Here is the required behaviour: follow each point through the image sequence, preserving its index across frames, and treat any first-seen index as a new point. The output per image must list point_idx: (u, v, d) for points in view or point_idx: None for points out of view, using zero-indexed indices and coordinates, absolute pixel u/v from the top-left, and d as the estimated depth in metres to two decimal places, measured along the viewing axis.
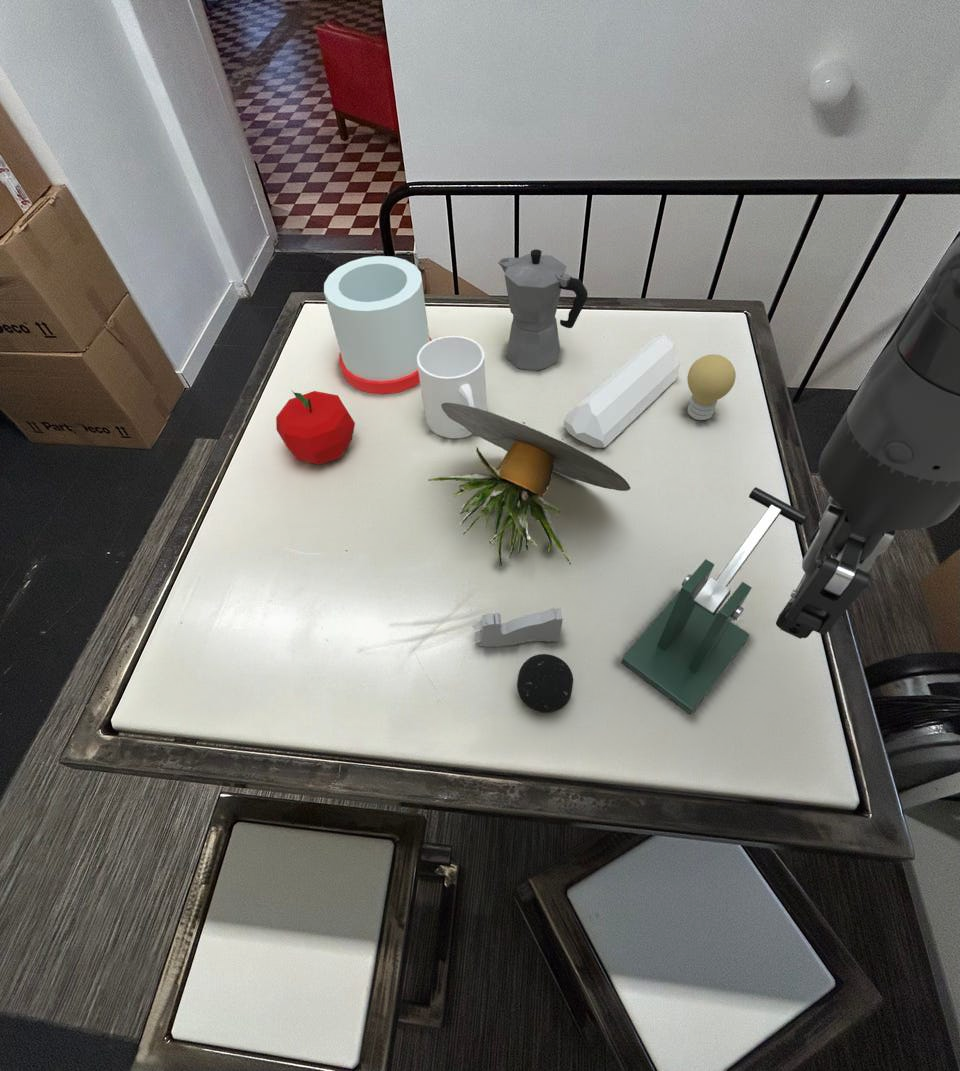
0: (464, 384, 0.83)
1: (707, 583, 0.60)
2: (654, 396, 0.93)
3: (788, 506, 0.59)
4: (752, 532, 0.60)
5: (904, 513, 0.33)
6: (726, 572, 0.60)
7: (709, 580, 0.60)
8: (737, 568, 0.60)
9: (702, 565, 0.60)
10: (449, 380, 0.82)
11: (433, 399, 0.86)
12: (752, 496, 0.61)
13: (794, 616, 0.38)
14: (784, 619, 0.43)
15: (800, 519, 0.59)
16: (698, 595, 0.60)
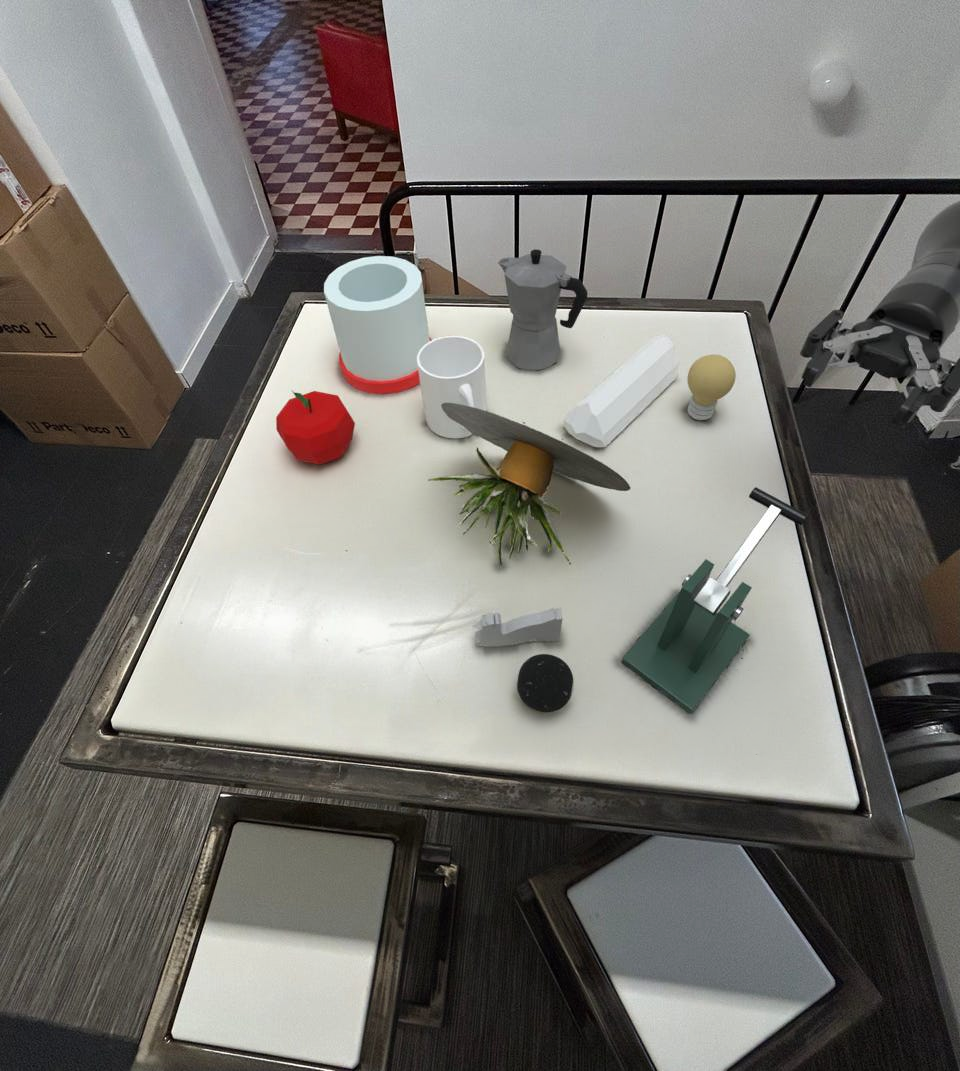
0: (464, 384, 0.83)
1: (707, 583, 0.60)
2: (653, 396, 0.93)
3: (788, 506, 0.59)
4: (752, 532, 0.60)
5: (876, 307, 0.64)
6: (726, 572, 0.60)
7: (709, 580, 0.60)
8: (737, 568, 0.60)
9: (702, 565, 0.60)
10: (449, 380, 0.82)
11: (433, 399, 0.86)
12: (752, 496, 0.61)
13: None
14: None
15: (800, 519, 0.59)
16: (698, 595, 0.60)
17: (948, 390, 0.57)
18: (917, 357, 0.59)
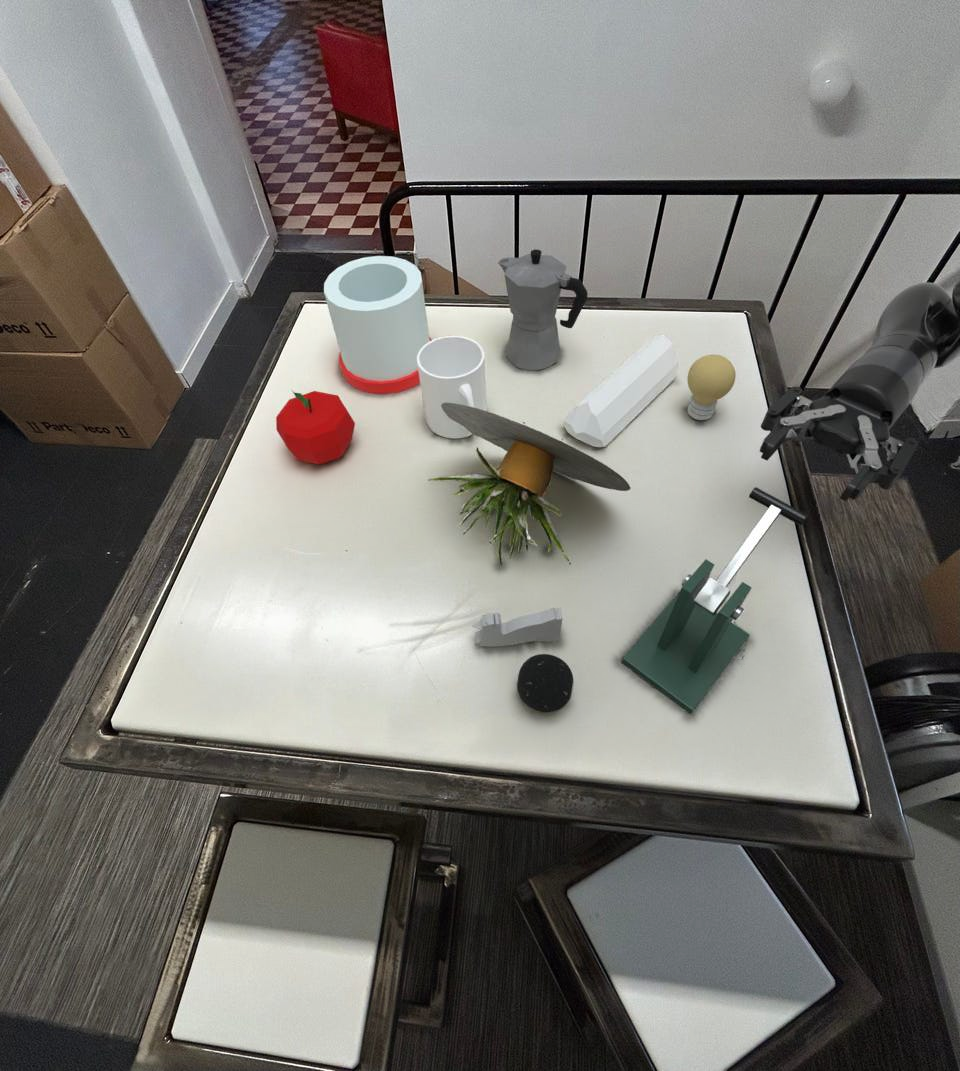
0: (464, 384, 0.83)
1: (707, 583, 0.60)
2: (653, 395, 0.94)
3: (788, 506, 0.59)
4: (752, 532, 0.60)
5: (833, 385, 0.69)
6: (726, 572, 0.60)
7: (709, 580, 0.60)
8: (737, 568, 0.60)
9: (702, 565, 0.60)
10: (449, 380, 0.82)
11: (433, 399, 0.86)
12: (752, 496, 0.61)
13: None
14: None
15: (800, 519, 0.59)
16: (698, 595, 0.60)
17: (893, 470, 0.61)
18: (866, 437, 0.63)
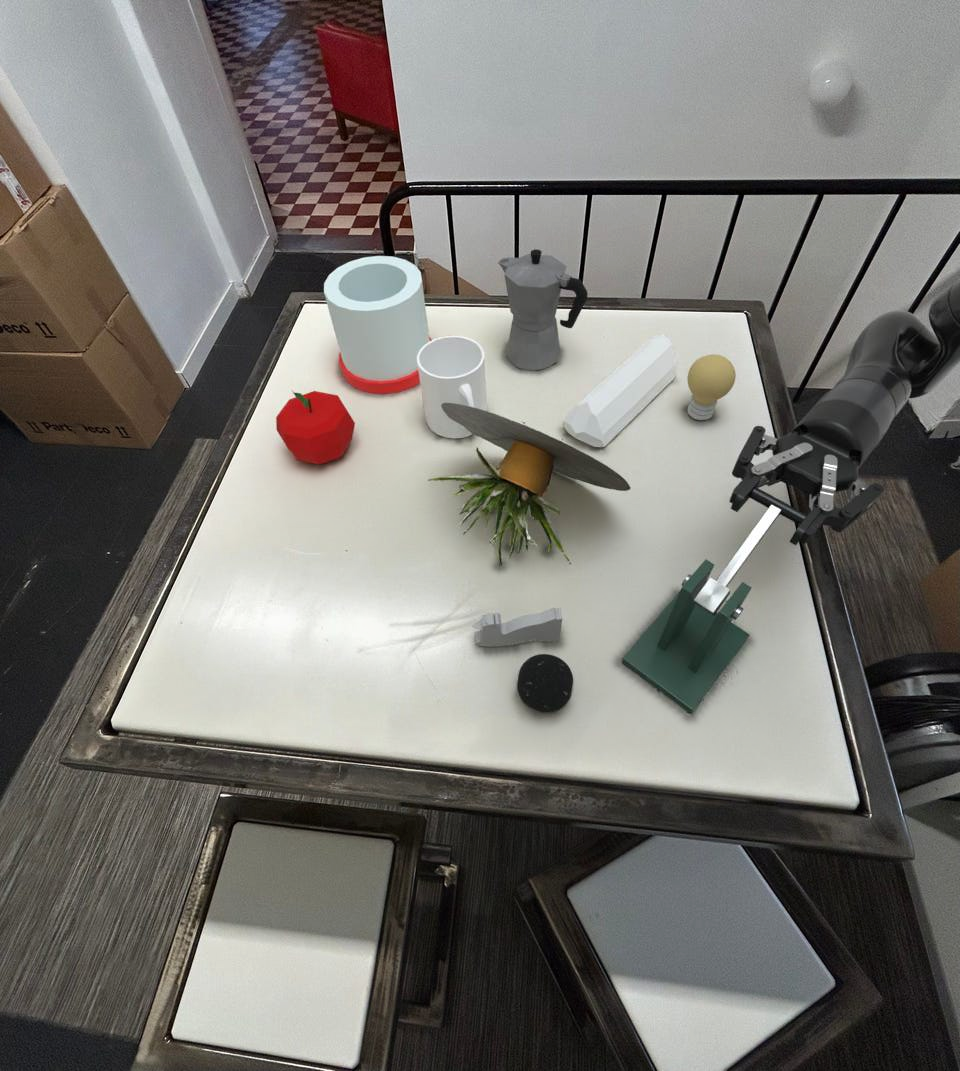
0: (464, 384, 0.83)
1: (707, 583, 0.60)
2: (652, 395, 0.94)
3: (788, 506, 0.59)
4: (752, 532, 0.60)
5: (801, 420, 0.65)
6: (726, 572, 0.60)
7: (709, 580, 0.60)
8: (737, 568, 0.60)
9: (702, 565, 0.60)
10: (449, 380, 0.82)
11: (433, 399, 0.86)
12: (752, 496, 0.61)
13: None
14: None
15: (800, 519, 0.59)
16: (698, 595, 0.60)
17: (844, 512, 0.58)
18: (827, 477, 0.60)
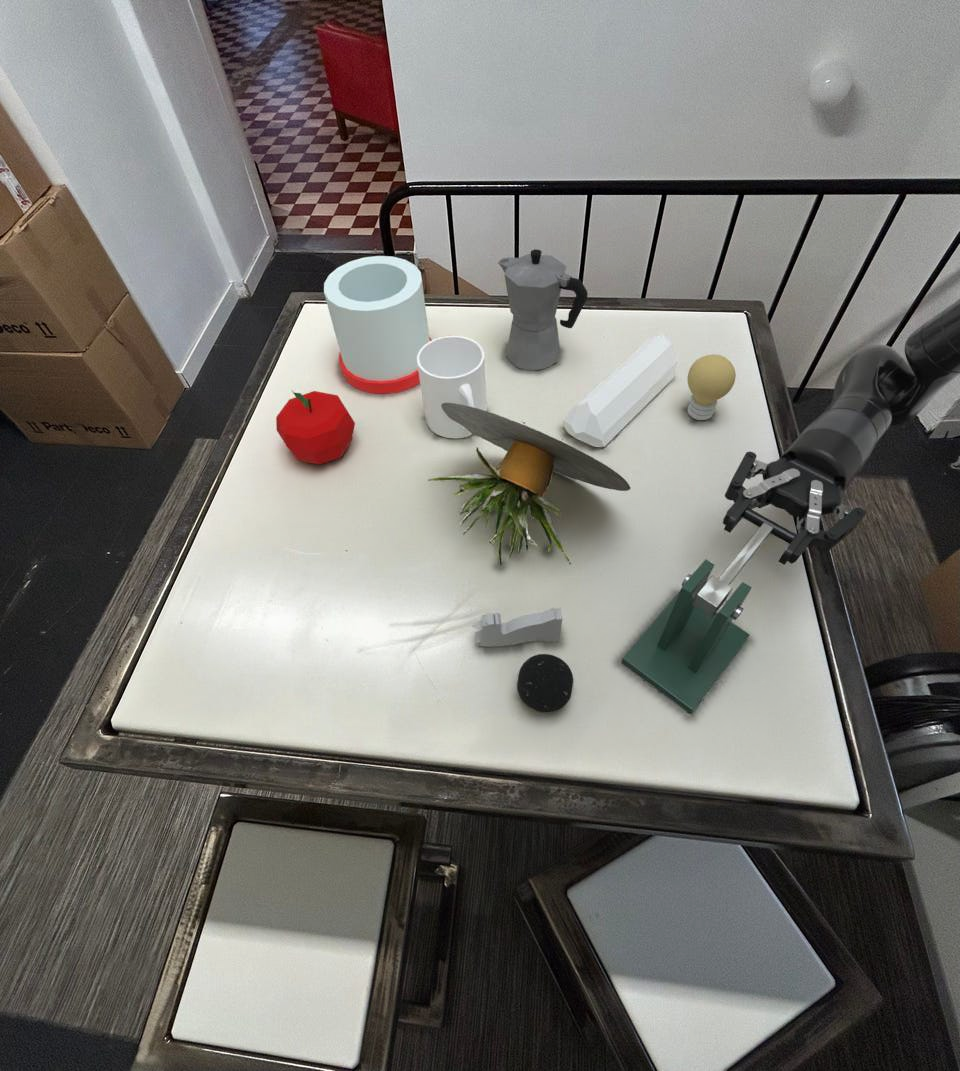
0: (464, 384, 0.83)
1: (710, 580, 0.60)
2: (652, 395, 0.94)
3: None
4: (748, 543, 0.63)
5: (789, 447, 0.70)
6: (726, 574, 0.61)
7: (711, 578, 0.60)
8: (736, 572, 0.61)
9: (702, 565, 0.60)
10: (449, 380, 0.82)
11: (433, 399, 0.86)
12: (745, 515, 0.65)
13: None
14: None
15: (791, 536, 0.63)
16: (701, 590, 0.59)
17: (828, 535, 0.62)
18: (813, 502, 0.64)
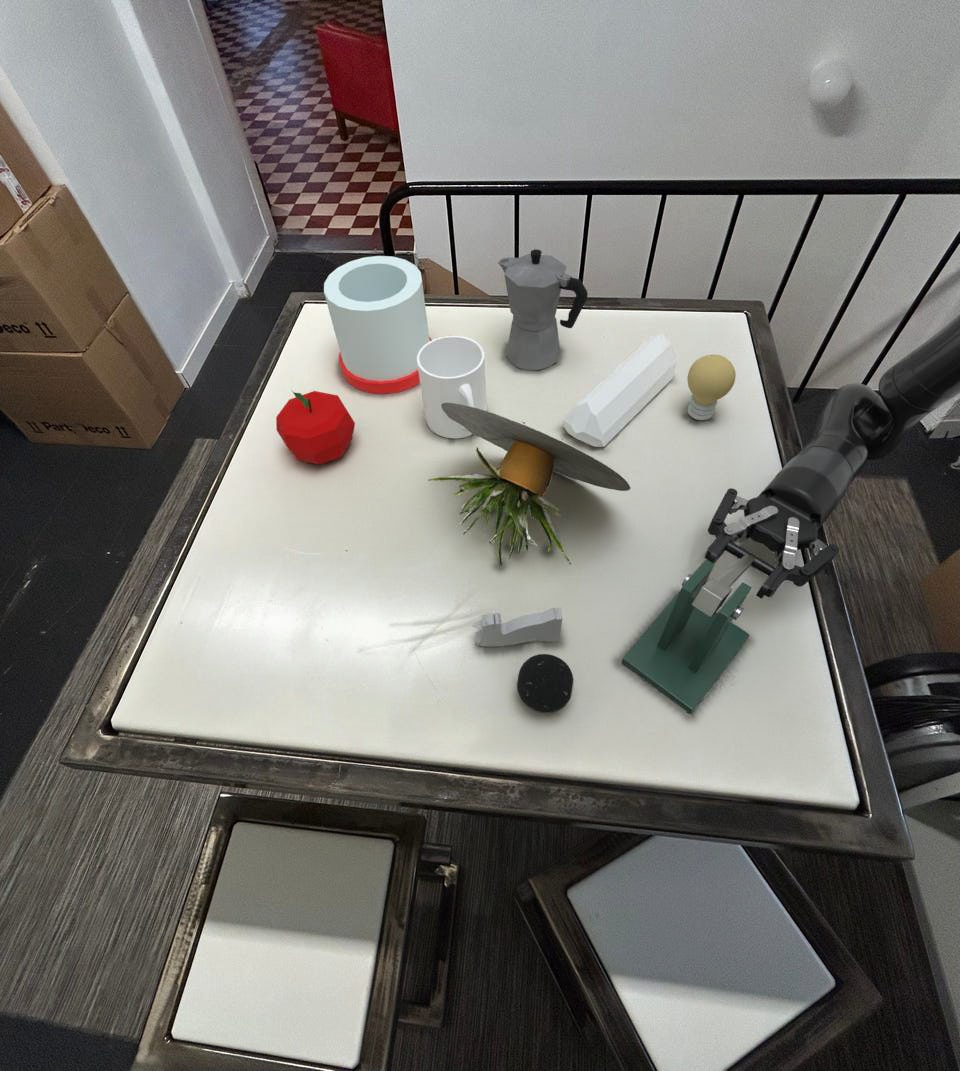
0: (464, 384, 0.83)
1: (711, 579, 0.60)
2: (652, 395, 0.94)
3: None
4: (736, 564, 0.65)
5: (769, 484, 0.74)
6: (722, 581, 0.62)
7: (712, 578, 0.61)
8: (731, 581, 0.62)
9: (702, 565, 0.60)
10: (449, 380, 0.82)
11: (433, 399, 0.86)
12: (729, 545, 0.68)
13: None
14: None
15: (771, 567, 0.66)
16: (705, 585, 0.59)
17: (803, 570, 0.66)
18: (789, 538, 0.68)
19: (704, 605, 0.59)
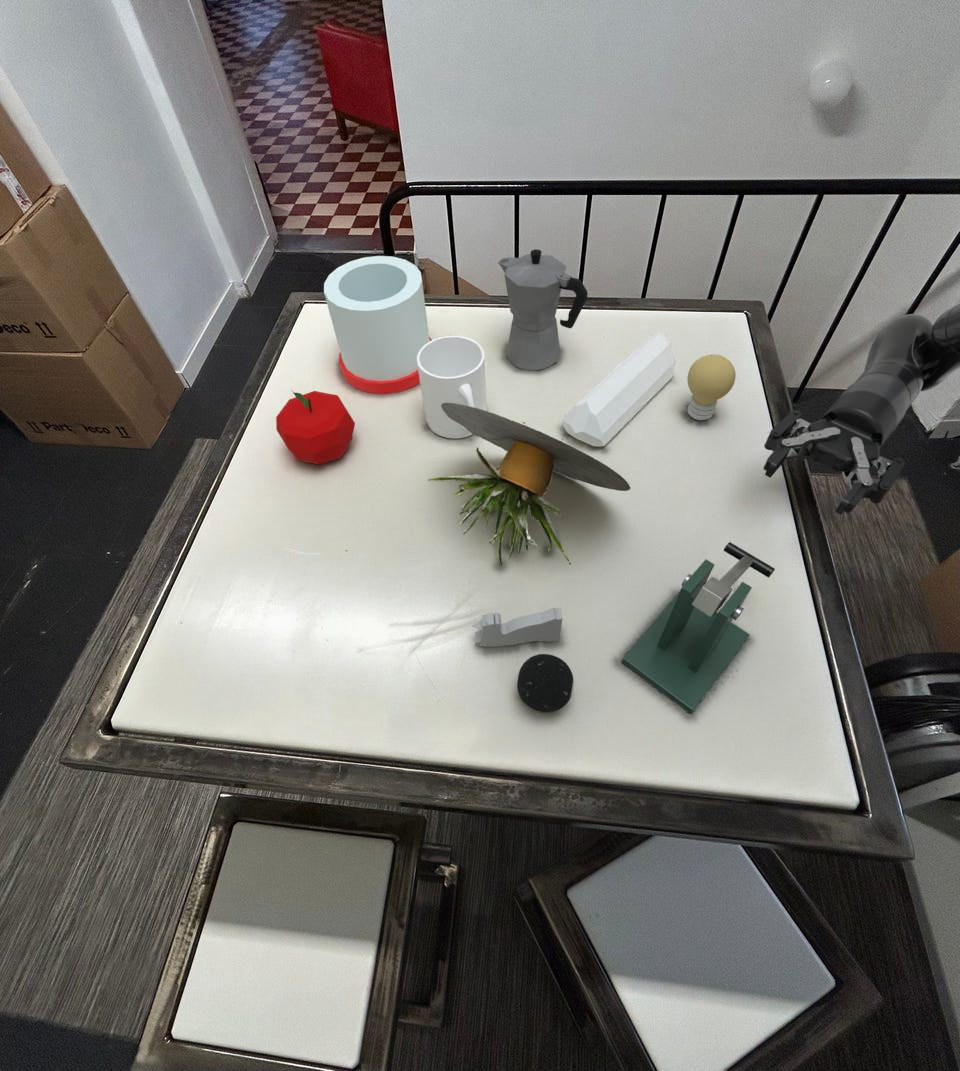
0: (464, 384, 0.83)
1: (711, 579, 0.60)
2: (651, 394, 0.94)
3: None
4: (736, 564, 0.65)
5: (829, 409, 0.76)
6: (722, 581, 0.62)
7: (712, 578, 0.61)
8: (731, 582, 0.62)
9: (702, 565, 0.60)
10: (449, 380, 0.82)
11: (433, 399, 0.86)
12: (728, 546, 0.68)
13: None
14: None
15: (770, 568, 0.66)
16: (705, 584, 0.59)
17: (882, 487, 0.68)
18: (859, 457, 0.70)
19: (704, 605, 0.59)
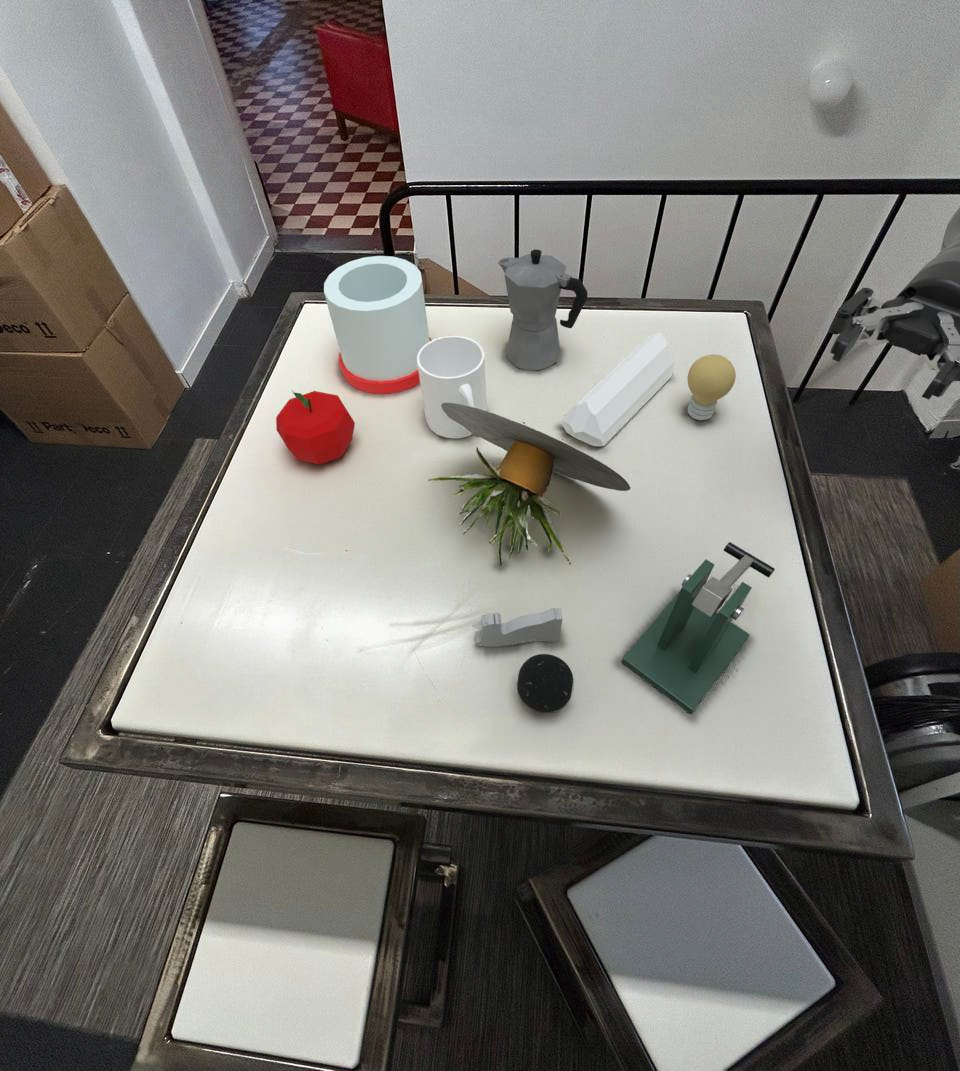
0: (464, 384, 0.83)
1: (711, 579, 0.60)
2: (650, 394, 0.94)
3: None
4: (736, 564, 0.65)
5: None
6: (722, 581, 0.62)
7: (712, 578, 0.61)
8: (731, 582, 0.62)
9: (702, 565, 0.60)
10: (449, 380, 0.82)
11: (433, 399, 0.86)
12: (728, 546, 0.68)
13: None
14: None
15: (770, 568, 0.66)
16: (705, 584, 0.59)
17: None
18: (949, 332, 0.58)
19: (704, 605, 0.59)
